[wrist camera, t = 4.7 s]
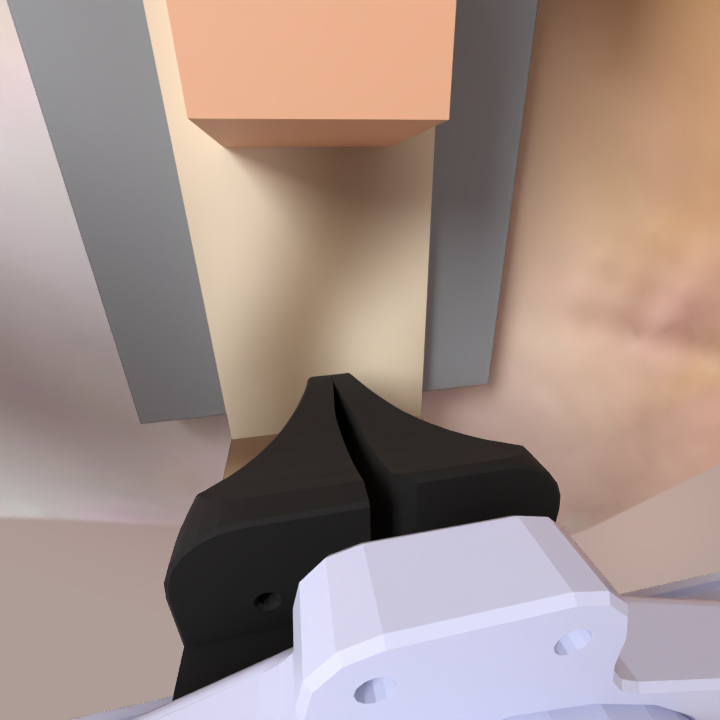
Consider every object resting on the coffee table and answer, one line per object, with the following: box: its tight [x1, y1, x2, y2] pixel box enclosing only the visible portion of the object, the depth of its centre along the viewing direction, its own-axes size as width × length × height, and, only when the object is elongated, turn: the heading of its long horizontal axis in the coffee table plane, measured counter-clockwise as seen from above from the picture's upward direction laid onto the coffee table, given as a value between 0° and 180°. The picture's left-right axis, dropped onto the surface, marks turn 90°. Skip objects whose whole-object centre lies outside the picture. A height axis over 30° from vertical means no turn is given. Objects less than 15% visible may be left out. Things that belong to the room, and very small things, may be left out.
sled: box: [143, 0, 435, 480], centre depth 9 cm, size 7×16×4 cm, turn 3°
